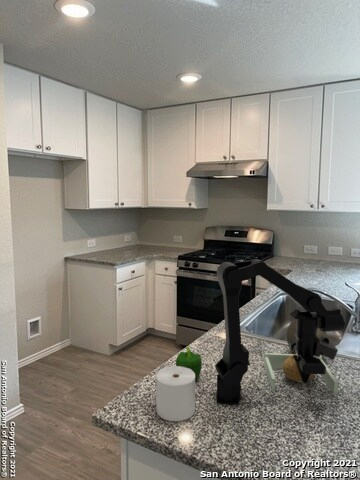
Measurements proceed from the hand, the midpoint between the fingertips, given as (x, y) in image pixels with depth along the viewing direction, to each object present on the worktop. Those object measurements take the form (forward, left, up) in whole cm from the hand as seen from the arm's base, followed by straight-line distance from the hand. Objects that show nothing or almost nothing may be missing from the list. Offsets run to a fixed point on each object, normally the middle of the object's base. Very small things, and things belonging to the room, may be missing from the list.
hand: (304, 382), depth 102 cm
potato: (+1, +8, -3) cm, 9 cm away
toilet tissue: (-38, -12, -4) cm, 40 cm away
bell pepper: (-35, +5, -3) cm, 36 cm away
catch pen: (0, +8, -3) cm, 8 cm away
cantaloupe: (+7, +26, -3) cm, 27 cm away
